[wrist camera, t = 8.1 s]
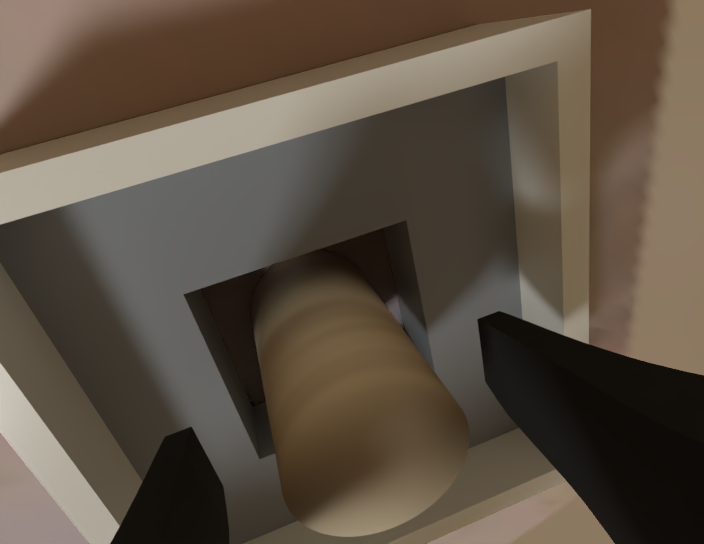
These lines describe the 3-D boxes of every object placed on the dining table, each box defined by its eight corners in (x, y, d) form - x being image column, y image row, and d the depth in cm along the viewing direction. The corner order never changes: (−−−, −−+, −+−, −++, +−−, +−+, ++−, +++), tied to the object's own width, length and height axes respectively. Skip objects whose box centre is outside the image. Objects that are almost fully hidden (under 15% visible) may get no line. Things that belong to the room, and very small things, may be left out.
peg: (379, 333, 17) (478, 489, 11) (272, 373, 16) (313, 562, 10) (353, 233, 15) (456, 353, 9) (232, 274, 14) (252, 432, 8)
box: (511, 389, 20) (588, 471, 16) (184, 522, 18) (178, 654, 14) (477, 24, 13) (590, 8, 10) (-41, 165, 11) (-170, 220, 7)
